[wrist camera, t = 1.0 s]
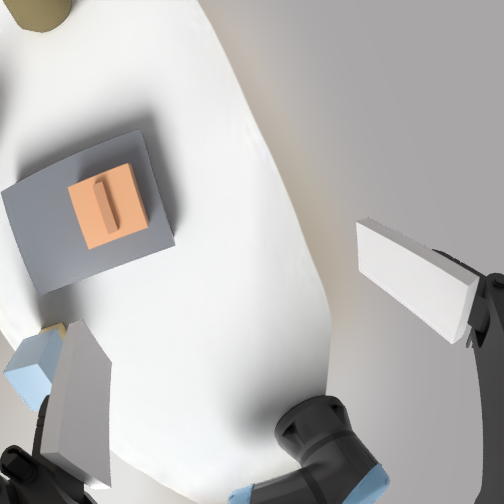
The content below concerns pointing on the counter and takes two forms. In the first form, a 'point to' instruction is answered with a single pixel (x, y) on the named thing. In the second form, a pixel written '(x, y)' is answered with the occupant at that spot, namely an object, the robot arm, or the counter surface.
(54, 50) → the counter surface
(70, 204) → the socket plate
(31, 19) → the squeeze bottle
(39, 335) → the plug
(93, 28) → the counter surface
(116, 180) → the orange ridged block
